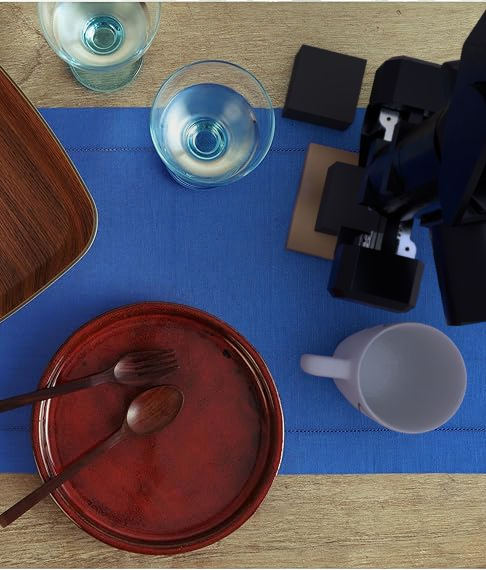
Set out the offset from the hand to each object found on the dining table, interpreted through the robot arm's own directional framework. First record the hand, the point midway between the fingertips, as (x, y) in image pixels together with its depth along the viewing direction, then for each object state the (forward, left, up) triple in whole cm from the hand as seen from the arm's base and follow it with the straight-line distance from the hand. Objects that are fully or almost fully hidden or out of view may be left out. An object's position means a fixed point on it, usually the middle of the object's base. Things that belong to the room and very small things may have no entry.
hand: (356, 205), depth 55 cm
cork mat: (0, 0, -2) cm, 2 cm away
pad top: (-10, -5, -2) cm, 11 cm away
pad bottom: (0, 0, -1) cm, 1 cm away
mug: (+14, +3, -2) cm, 15 cm away
